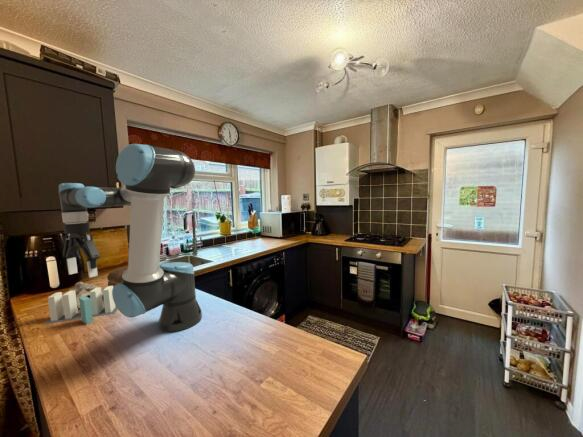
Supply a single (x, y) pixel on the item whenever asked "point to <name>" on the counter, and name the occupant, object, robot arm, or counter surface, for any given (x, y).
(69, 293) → the domino
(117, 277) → the bread
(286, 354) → the counter surface
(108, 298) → the domino
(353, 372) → the counter surface
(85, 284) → the rock
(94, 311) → the domino
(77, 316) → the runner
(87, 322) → the teal domino
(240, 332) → the counter surface
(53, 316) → the domino
